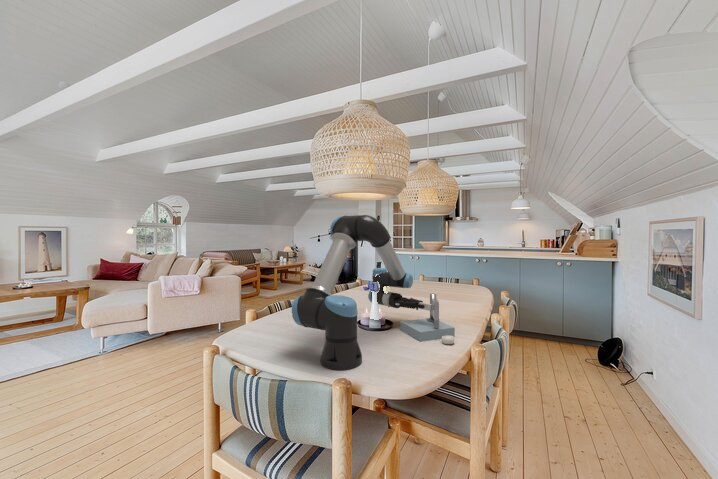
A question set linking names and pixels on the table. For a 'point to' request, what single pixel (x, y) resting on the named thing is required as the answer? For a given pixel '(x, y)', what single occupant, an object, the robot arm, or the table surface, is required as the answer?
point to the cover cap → (448, 339)
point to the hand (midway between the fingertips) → (431, 307)
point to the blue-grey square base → (426, 329)
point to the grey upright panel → (434, 310)
